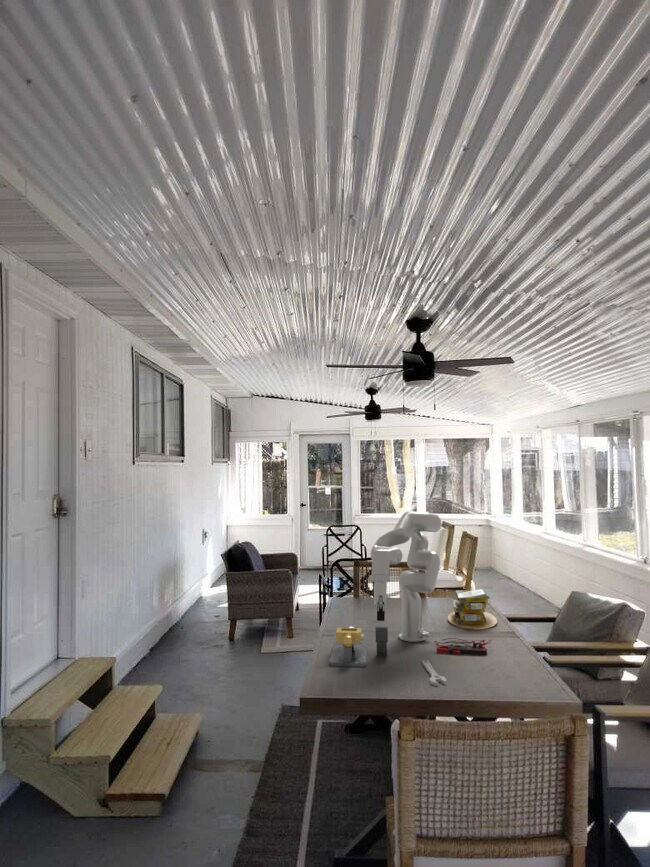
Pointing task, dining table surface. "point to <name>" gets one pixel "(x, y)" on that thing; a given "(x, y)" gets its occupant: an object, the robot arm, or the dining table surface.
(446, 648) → the digital clamp meter
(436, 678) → the adjustable wrench
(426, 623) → the dining table surface
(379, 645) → the wedge
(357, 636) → the multicoloured piece
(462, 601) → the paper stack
